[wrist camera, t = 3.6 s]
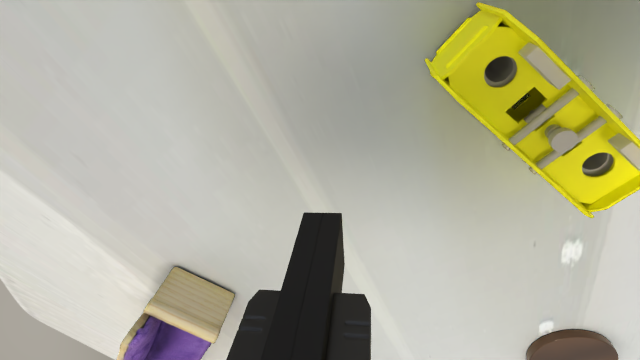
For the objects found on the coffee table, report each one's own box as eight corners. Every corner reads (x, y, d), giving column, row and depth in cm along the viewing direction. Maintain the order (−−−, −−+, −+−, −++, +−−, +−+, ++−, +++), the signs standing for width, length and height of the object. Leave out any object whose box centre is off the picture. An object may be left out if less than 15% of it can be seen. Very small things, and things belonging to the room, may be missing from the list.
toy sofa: (192, 366, 54) (156, 442, 46) (139, 343, 53) (92, 416, 44) (240, 291, 44) (205, 370, 35) (175, 260, 42) (123, 334, 34)
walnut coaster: (632, 353, 40) (637, 361, 39) (564, 385, 44) (567, 393, 43) (573, 318, 38) (577, 325, 37) (509, 355, 43) (512, 363, 42)
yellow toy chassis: (620, 135, 28) (704, 191, 21) (554, 181, 30) (607, 244, 23) (481, -5, 24) (523, 4, 17) (420, 60, 27) (435, 92, 20)
